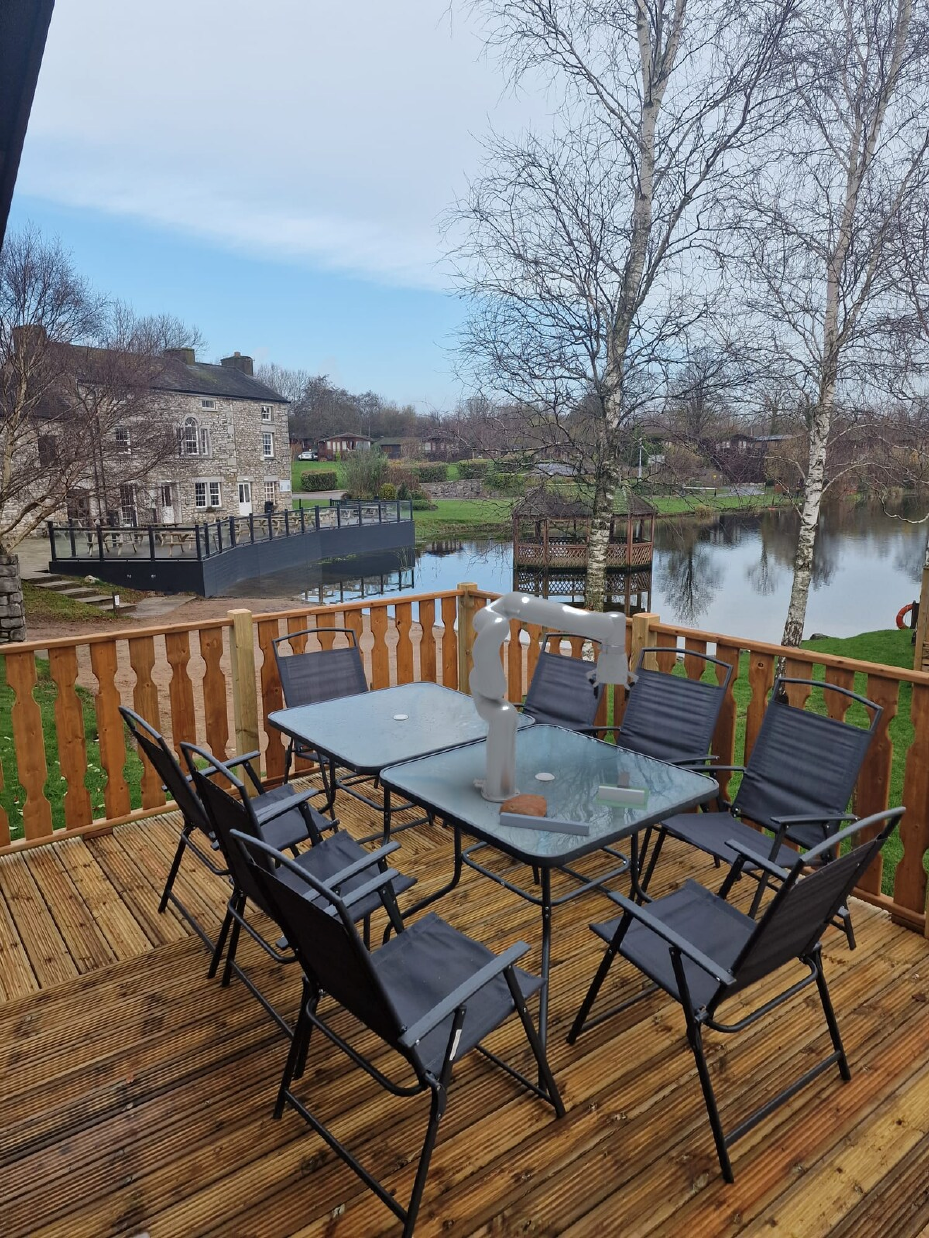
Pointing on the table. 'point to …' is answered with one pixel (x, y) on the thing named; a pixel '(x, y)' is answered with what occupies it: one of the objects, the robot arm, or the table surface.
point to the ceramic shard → (525, 805)
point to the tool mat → (623, 804)
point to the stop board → (544, 823)
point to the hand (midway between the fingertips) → (611, 699)
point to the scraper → (622, 791)
